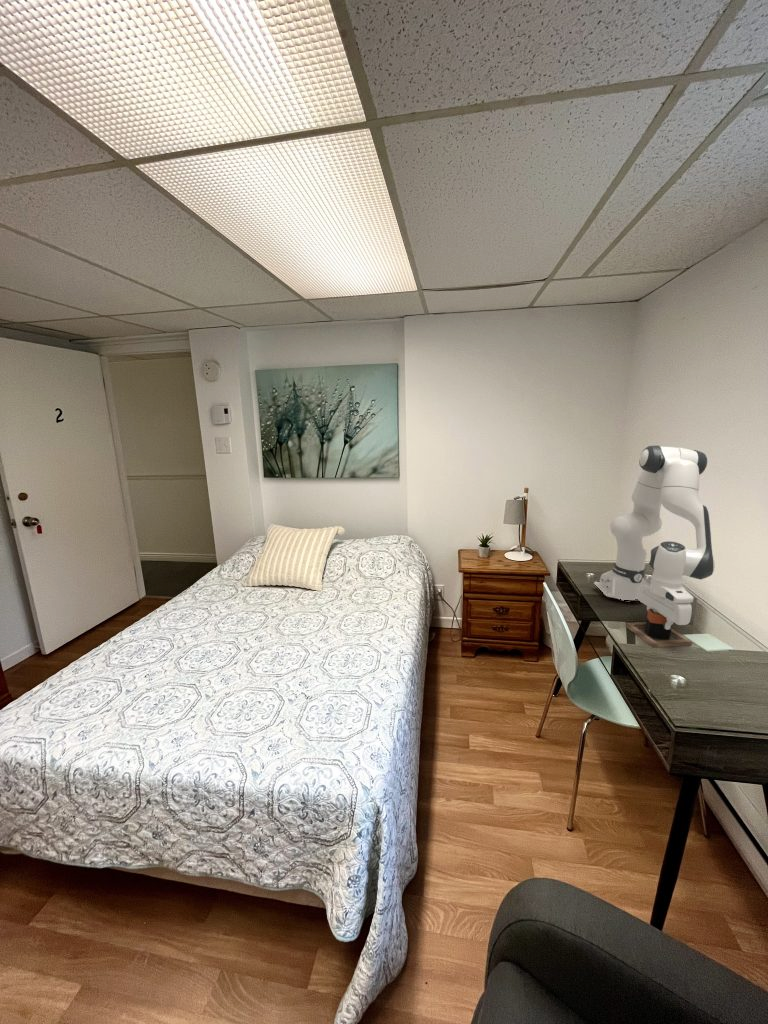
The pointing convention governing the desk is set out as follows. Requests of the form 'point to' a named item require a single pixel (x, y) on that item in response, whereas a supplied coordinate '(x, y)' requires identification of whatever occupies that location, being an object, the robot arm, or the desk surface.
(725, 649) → the pad
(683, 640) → the dock
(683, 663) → the desk surface
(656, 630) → the battery
